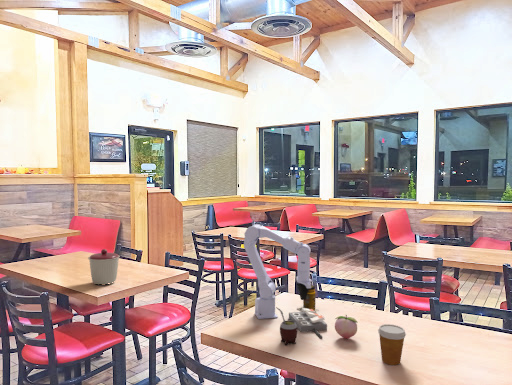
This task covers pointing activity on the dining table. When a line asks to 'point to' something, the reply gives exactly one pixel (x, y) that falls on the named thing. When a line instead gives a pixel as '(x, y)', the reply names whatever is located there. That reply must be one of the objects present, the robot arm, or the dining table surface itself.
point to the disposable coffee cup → (391, 343)
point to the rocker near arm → (308, 310)
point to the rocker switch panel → (307, 323)
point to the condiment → (310, 299)
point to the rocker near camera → (317, 319)
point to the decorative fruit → (346, 326)
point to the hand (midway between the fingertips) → (303, 299)
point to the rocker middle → (312, 314)
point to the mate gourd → (288, 331)
